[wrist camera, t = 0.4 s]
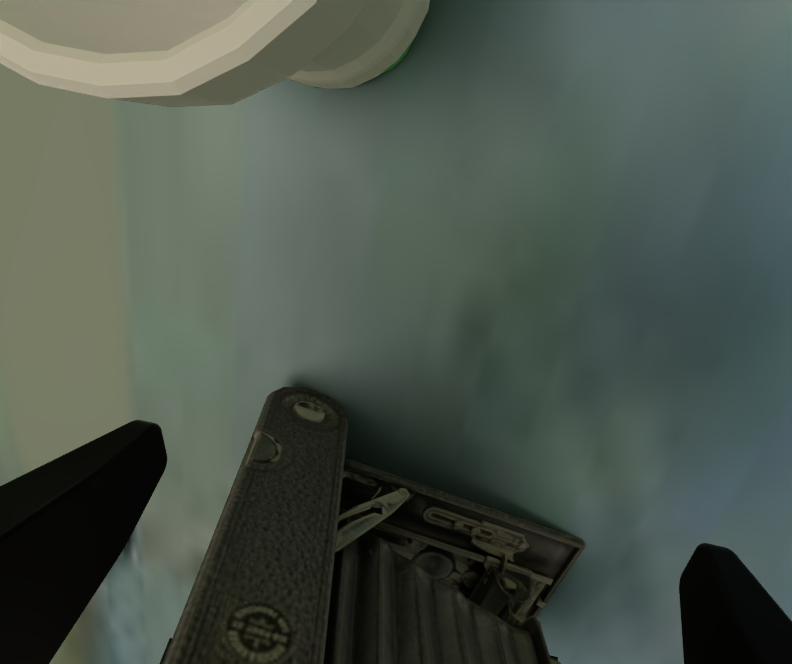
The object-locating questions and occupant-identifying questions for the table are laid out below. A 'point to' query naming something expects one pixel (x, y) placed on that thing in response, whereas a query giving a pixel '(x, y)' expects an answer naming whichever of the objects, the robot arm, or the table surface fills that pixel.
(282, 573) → the camera
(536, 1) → the table surface
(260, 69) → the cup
